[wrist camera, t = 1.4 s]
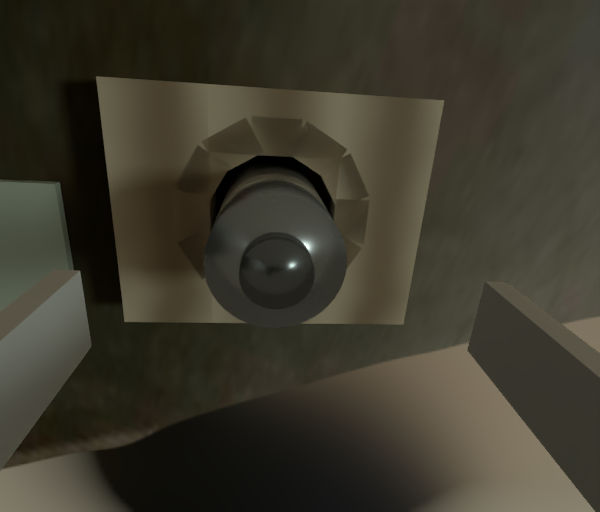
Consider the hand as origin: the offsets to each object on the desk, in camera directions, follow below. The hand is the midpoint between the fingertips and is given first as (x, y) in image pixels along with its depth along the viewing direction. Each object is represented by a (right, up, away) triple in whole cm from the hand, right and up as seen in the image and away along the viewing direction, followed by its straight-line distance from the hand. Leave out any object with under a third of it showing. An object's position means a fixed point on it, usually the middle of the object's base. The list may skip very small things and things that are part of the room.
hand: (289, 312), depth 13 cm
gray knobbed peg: (-1, +5, +13) cm, 14 cm away
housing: (-1, +5, +13) cm, 14 cm away
